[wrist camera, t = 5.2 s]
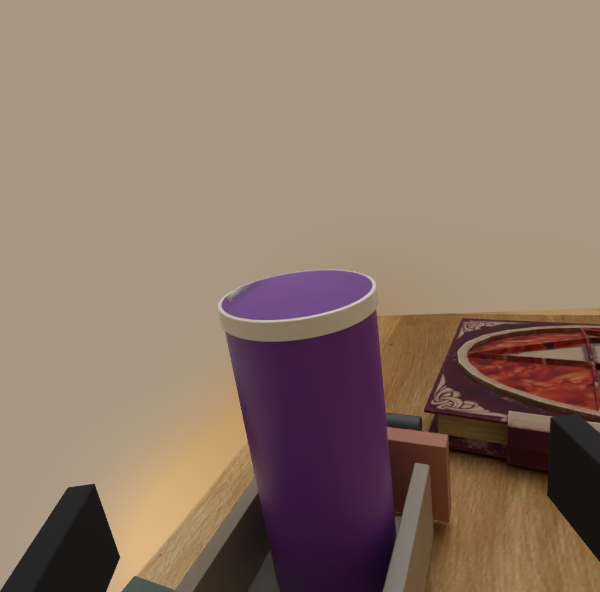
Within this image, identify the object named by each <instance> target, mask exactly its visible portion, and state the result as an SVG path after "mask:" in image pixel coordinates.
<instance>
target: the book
mask: <svg viewBox="0 0 600 592" xmlns="http://www.w3.org/2000/svg"><path fill="white" fill-rule="evenodd" d="M424 412H427V413H434V414H435V416H434V419H433V422H432V424H431V427H430V430H429V432H430V433H438V434H446V435H448V441H449V448H451V449H457V450H462V451H468V452H473V453H479V454H484V455H490V456H495V457H501V458H506V459H507V464H512V465H517V466H522V467H528V468H533V469H538V470H544V471H548V467H549V442H550V417H557V416H564V415H570V414H578V415H580V416H581V417H582V418H583V419H584V420H585V421H587V422H588V423H589V424H590V425H591V426H592V427H594V428H595V429H596V430H597V431H598V432H599V433H600V325H598V324H576V323H554V322H532V321H510V320H489V319H467V318H462V320H461V322H460V325H459V327H458V329H457V332H456V334H455V337H454V339H453V341H452V344H451V346H450V349H449V351H448V353H447V356H446V358H445V361H444V363H443V365H442V368H441V370H440V373H439V375H438V377H437V380H436V382H435V385H434V387H433V389H432V392H431V394H430V397H429V399H428V402H427V404H426V406H425V409H424Z"/></svg>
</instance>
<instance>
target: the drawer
mask: <svg viewBox="0 0 600 592" xmlns="http://www.w3.org/2000/svg"><path fill="white" fill-rule="evenodd" d="M386 423H387V434H388V445H389V456H390V467H391V478H392V489H393V500H394V511H396V512H401V513H402V516H401V517H399V516H395V522H396V534H397V536H396V540H395V544H394V548H393V552H392V556H391V560H390V564H389V568H388V572H387V576H386V580H385V584H384V588H383V592H425V586H426V580H427V573H428V567H429V561H430V555H431V548H432V542H433V536H434V530H433V519H434V520H439V521H444V522H449V521H450V513H451V490H450V465H449V441H448V435H446V434H438V433H430V432H423V431H422V419H421V417H420V416H411V415H402V414H393V413H386ZM175 591H178V592H281V590H280V588H279V585H278V582H277V579H276V574H275V569H274V564H273V559H272V555H271V550H270V545H269V540H268V535H267V531H266V526H265V521H264V516H263V511H262V506H261V502H260V497H259V492H258V487H257V482H256V477H254V478H253V480H252V481H251V483H250V484H249V485H248V487H247V488H246V490H245V491H244V493H243V494H242V495H241V497H240V498H239V500H238V501H237V503H236V504H235V505H234V507H233V508H232V510H231V511H230V513H229V514H228V515H227V517H226V518H225V520H224V521H223V523H222V524H221V525H220V527H219V528H218V530H217V531H216V533H215V534H214V535H213V537H212V538H211V540H210V541H209V543H208V544H207V545H206V547H205V548H204V550H203V551H202V553H201V554H200V555H199V557H198V558H197V560H196V561H195V563H194V564H193V565H192V567H191V568H190V570H189V571H188V573H187V574H186V575H185V577H184V578H183V580H182V581H181V583H180V584H179V585H178V587H177V588H176V590H175Z"/></svg>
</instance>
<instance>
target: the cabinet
mask: <svg viewBox="0 0 600 592" xmlns="http://www.w3.org/2000/svg"><path fill="white" fill-rule="evenodd" d="M122 592H178V591H175V590H173V589H170V588H167V587H164V586H161V585H159V584H156V583H153V582H150V581H148V580H145V579H142V578H139V577H137V576H134V577H133V578H132V579H131V581H130V582H129V583H128V584H127V586H126V587H125V588H124V589H123V591H122Z"/></svg>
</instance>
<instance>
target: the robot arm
mask: <svg viewBox="0 0 600 592" xmlns="http://www.w3.org/2000/svg"><path fill="white" fill-rule="evenodd" d="M547 496H548V497H549V498H550V499H551V501H552V502H553V503H554V504H555V506H556V507H557V508H558V510H559V511H560V512H561V513H562V515H563V516H564V517H565V518H566V520H567V521H568V522H569V523H570V525H571V526H572V527H573V528H574V530H575V531H576V532H577V534H578V535H579V536H580V537H581V539H582V540H583V541H584V542H585V544H586V545H587V546H588V547H589V549H590V550H591V551H592V552H593V554H594V555H595V556H596V557H597V559H598V560H599V561H600V433H599V432H598V431H597V430H596V429H595V428H594V427H592V426H591V425H590V424H589V423H588V422H587V421H585V420H584V419H583V418H582V417H581V416H580V415H578V414H570V415H564V416H557V417H550V442H549V467H548V492H547ZM119 559H120V556H119V553H118V550H117V547H116V544H115V541H114V539H113V536H112V533H111V530H110V527H109V524H108V521H107V518H106V515H105V513H104V510H103V507H102V504H101V501H100V498H99V495H98V493H97V490H96V487H95V484H90V485H83V486H76V487H69V488H67V490H66V491H65V493H64V495H63V496H62V498H61V499H60V501H59V502H58V504H57V505H56V507H55V508H54V510H53V511H52V513H51V514H50V516H49V517H48V519H47V521H46V522H45V524H44V525H43V527H42V528H41V530H40V531H39V533H38V534H37V536H36V537H35V539H34V540H33V542H32V543H31V545H30V546H29V548H28V549H27V551H26V553H25V554H24V556H23V557H22V559H21V560H20V562H19V563H18V565H17V566H16V568H15V569H14V571H13V572H12V574H11V576H10V577H9V579H8V580H7V582H6V583H5V585H4V586H3V588H2V589H1V591H0V592H106V591H107V588H108V585H109V583H110V580H111V578H112V576H113V573H114V571H115V569H116V566H117V564H118V561H119Z"/></svg>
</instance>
